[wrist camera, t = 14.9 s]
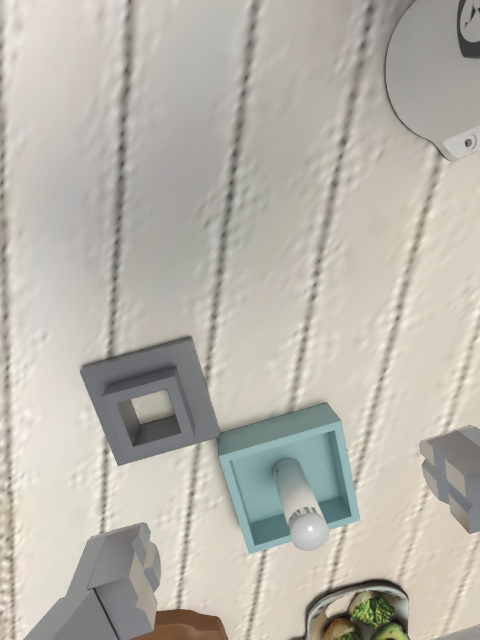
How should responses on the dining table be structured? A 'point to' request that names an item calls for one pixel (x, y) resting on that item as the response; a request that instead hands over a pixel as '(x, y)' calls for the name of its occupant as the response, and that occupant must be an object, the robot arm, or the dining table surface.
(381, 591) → the salad plate
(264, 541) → the parts tray
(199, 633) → the plant
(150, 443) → the grey square socket
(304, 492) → the cylinder
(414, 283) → the dining table surface
